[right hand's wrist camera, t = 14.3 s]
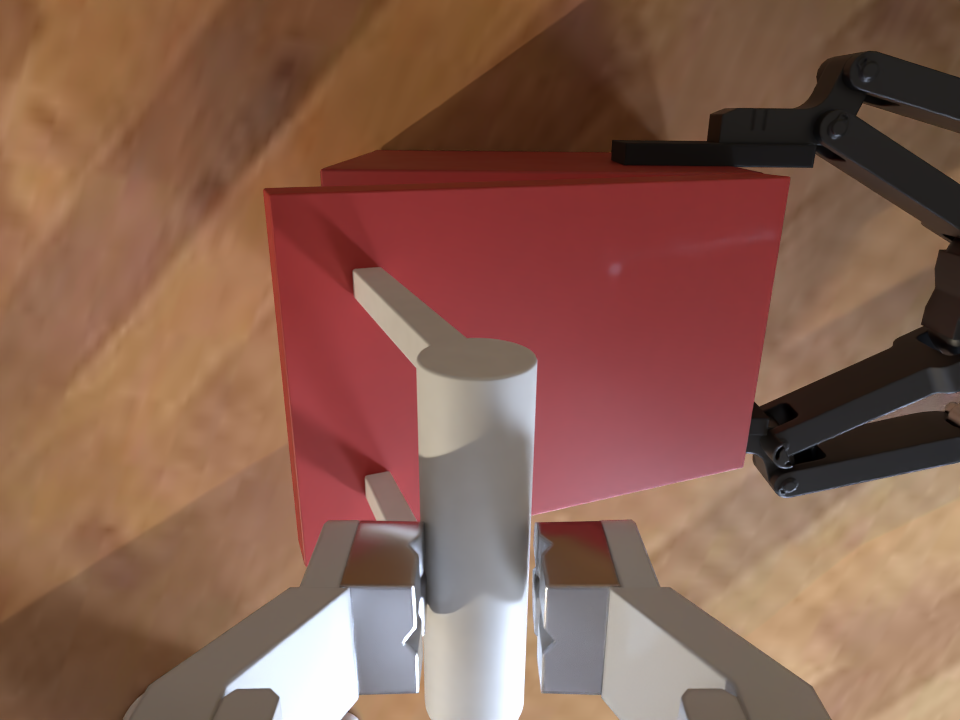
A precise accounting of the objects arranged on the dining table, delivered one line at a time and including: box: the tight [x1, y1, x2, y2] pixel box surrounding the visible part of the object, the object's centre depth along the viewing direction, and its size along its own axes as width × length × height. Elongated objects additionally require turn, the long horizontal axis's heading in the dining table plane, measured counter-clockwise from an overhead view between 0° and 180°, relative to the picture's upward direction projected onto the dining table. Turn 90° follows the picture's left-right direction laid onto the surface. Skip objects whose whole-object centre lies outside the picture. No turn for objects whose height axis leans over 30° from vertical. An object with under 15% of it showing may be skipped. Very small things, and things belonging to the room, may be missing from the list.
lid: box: [263, 173, 790, 720], centre depth 16 cm, size 15×10×9 cm, turn 88°
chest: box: [320, 150, 763, 187], centre depth 28 cm, size 14×10×11 cm
